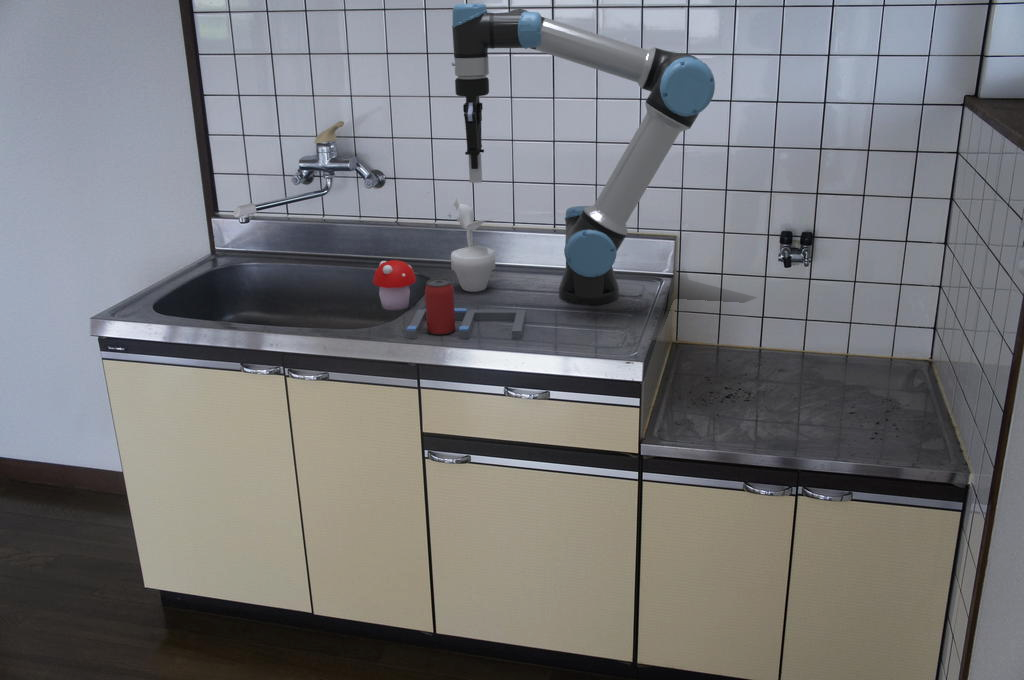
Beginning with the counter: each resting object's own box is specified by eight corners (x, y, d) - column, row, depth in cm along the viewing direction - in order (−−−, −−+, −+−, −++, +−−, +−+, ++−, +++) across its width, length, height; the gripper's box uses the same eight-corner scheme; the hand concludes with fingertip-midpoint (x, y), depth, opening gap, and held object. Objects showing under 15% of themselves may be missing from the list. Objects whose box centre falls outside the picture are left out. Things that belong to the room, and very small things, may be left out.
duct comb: (525, 317, 232) (525, 308, 232) (521, 339, 219) (520, 329, 218) (418, 317, 235) (417, 308, 234) (407, 338, 221) (406, 328, 220)
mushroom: (392, 296, 250) (388, 252, 246) (426, 303, 245) (424, 257, 240) (366, 309, 242) (362, 262, 237) (401, 315, 236) (398, 268, 232)
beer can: (457, 326, 228) (455, 277, 224) (453, 336, 222) (450, 286, 218) (430, 325, 229) (427, 277, 225) (424, 335, 223) (421, 285, 219)
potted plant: (443, 289, 255) (438, 195, 246) (476, 279, 262) (473, 187, 253) (474, 299, 246) (470, 202, 237) (508, 289, 253) (505, 194, 245)
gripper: (458, 74, 222) (463, 176, 231) (450, 80, 210) (456, 188, 218) (491, 73, 221) (494, 176, 230) (485, 79, 209) (489, 187, 218)
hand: (475, 181), depth 224 cm, fingers closed
